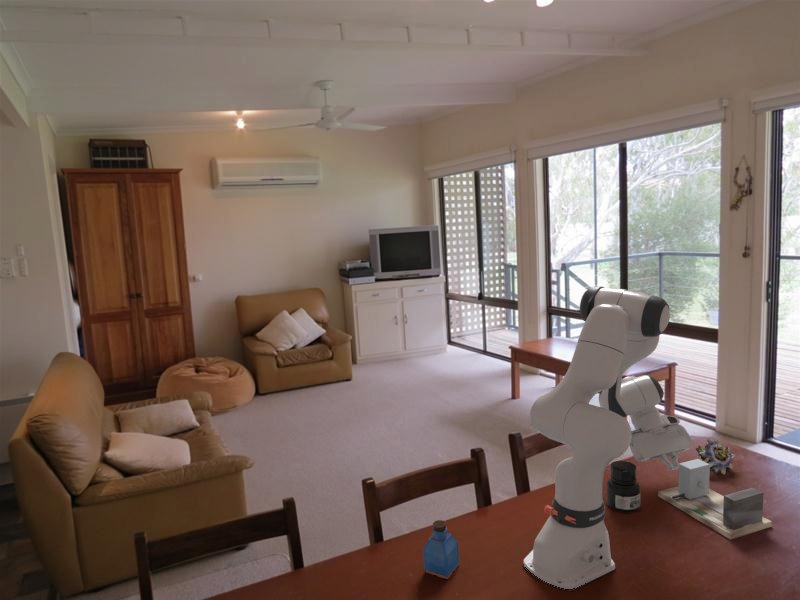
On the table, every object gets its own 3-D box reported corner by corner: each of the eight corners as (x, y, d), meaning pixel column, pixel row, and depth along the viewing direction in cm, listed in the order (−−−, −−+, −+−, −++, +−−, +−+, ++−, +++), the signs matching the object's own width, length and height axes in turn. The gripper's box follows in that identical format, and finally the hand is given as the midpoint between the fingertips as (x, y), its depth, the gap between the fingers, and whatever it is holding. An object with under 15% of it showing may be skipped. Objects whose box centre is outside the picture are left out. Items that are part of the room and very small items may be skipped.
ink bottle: (620, 516, 153) (620, 476, 151) (598, 502, 161) (598, 463, 159) (648, 508, 156) (648, 468, 154) (626, 494, 164) (626, 456, 163)
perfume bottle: (447, 580, 131) (445, 533, 129) (424, 572, 134) (422, 527, 132) (459, 565, 136) (457, 520, 134) (436, 558, 139) (434, 514, 138)
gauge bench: (658, 496, 163) (658, 465, 161) (695, 486, 167) (695, 456, 165) (730, 539, 140) (731, 504, 139) (771, 526, 144) (772, 492, 143)
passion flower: (721, 489, 174) (713, 468, 168) (690, 470, 183) (682, 449, 177) (744, 465, 176) (737, 443, 170) (713, 447, 185) (705, 425, 179)
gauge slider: (667, 496, 158) (667, 466, 157) (697, 487, 162) (698, 458, 160) (682, 505, 153) (683, 474, 152) (713, 496, 157) (714, 466, 155)
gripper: (628, 428, 166) (653, 472, 159) (682, 416, 173) (707, 458, 165) (618, 436, 171) (641, 480, 164) (670, 425, 178) (695, 466, 170)
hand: (675, 469), depth 164 cm, fingers closed
